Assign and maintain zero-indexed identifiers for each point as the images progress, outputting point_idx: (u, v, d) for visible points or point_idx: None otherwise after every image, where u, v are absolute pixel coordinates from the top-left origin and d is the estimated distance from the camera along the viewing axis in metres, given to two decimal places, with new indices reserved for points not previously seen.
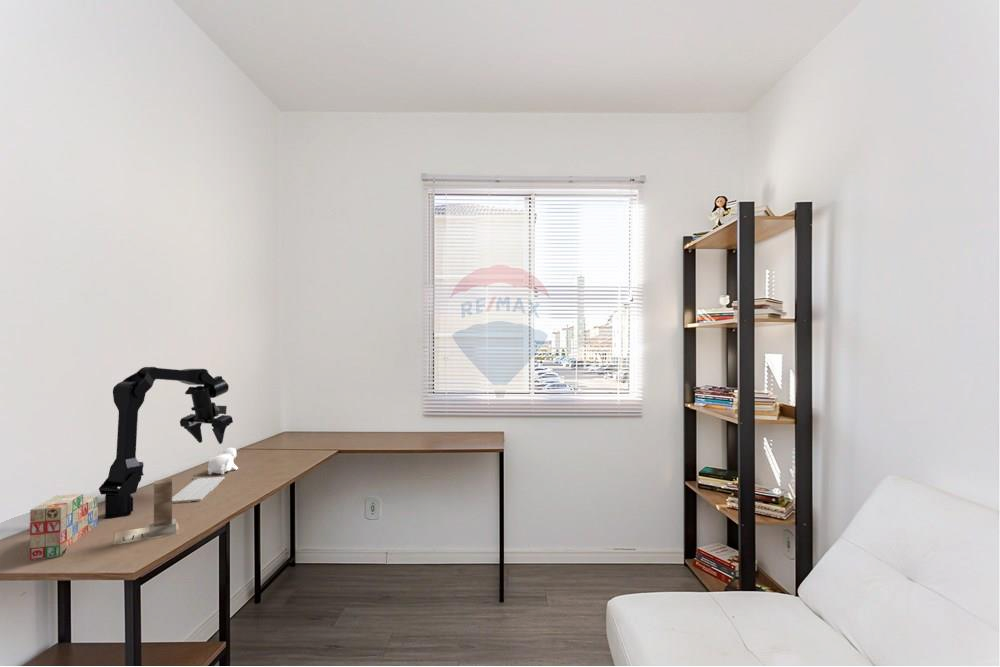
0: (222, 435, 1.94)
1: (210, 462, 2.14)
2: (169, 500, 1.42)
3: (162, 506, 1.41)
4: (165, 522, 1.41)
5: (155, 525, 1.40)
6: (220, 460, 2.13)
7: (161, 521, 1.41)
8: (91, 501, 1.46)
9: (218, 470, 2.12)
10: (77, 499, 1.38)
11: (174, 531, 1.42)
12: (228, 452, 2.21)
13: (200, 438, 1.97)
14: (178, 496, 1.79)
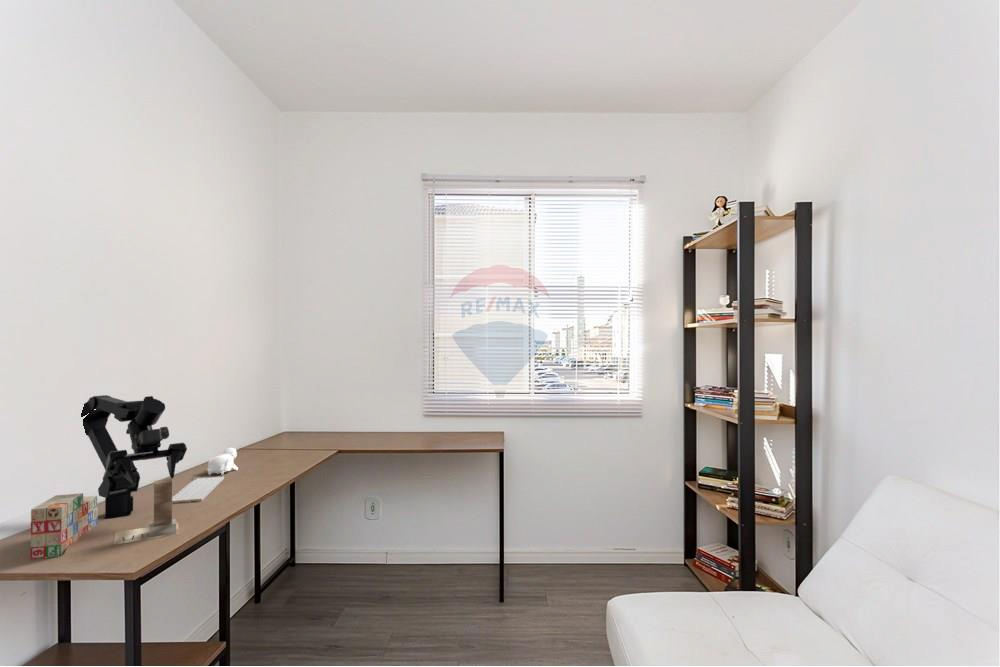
0: (127, 474, 1.46)
1: (210, 462, 2.13)
2: (169, 500, 1.42)
3: (162, 506, 1.41)
4: (165, 522, 1.41)
5: (155, 525, 1.40)
6: (220, 460, 2.13)
7: (161, 521, 1.41)
8: (91, 501, 1.47)
9: (218, 470, 2.12)
10: (77, 499, 1.39)
11: (174, 531, 1.42)
12: (228, 452, 2.21)
13: (170, 473, 1.53)
14: (178, 496, 1.79)
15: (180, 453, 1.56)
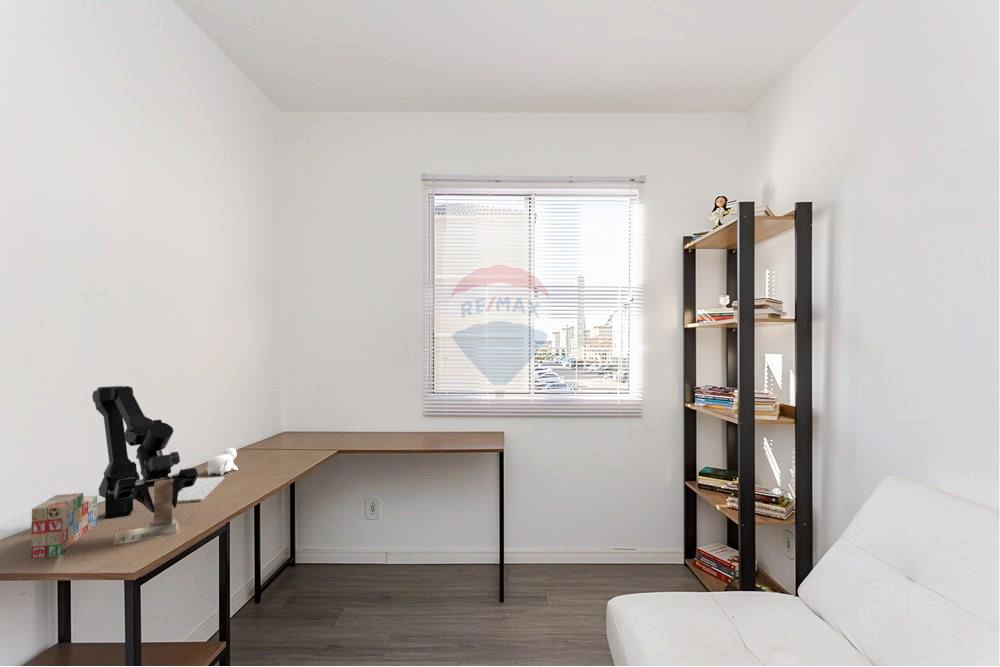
0: (146, 501, 1.41)
1: (210, 462, 2.13)
2: (170, 500, 1.42)
3: (162, 506, 1.41)
4: (165, 522, 1.42)
5: (155, 525, 1.40)
6: (219, 460, 2.13)
7: (161, 521, 1.41)
8: (91, 500, 1.47)
9: (217, 470, 2.12)
10: (78, 498, 1.39)
11: (174, 531, 1.42)
12: (228, 452, 2.20)
13: (173, 502, 1.44)
14: (178, 496, 1.79)
15: (183, 480, 1.48)
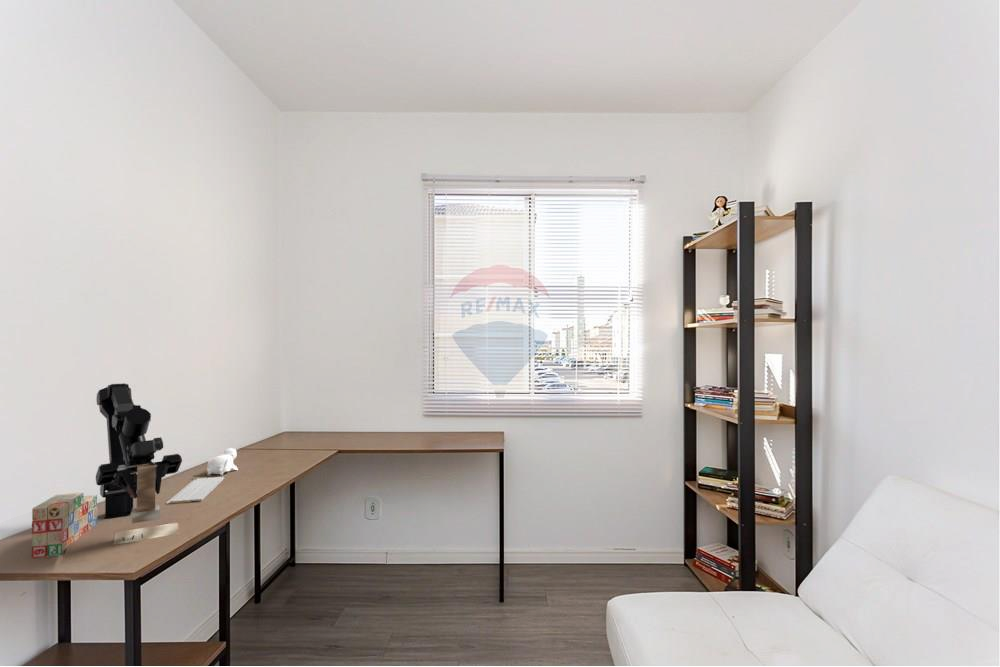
0: (128, 487, 1.39)
1: (209, 462, 2.13)
2: (153, 486, 1.40)
3: (145, 492, 1.39)
4: (148, 508, 1.40)
5: (138, 511, 1.38)
6: (219, 461, 2.12)
7: (144, 507, 1.39)
8: (91, 500, 1.47)
9: (217, 471, 2.11)
10: (78, 498, 1.39)
11: (157, 517, 1.40)
12: (228, 452, 2.20)
13: (156, 488, 1.43)
14: (179, 496, 1.79)
15: (166, 466, 1.46)
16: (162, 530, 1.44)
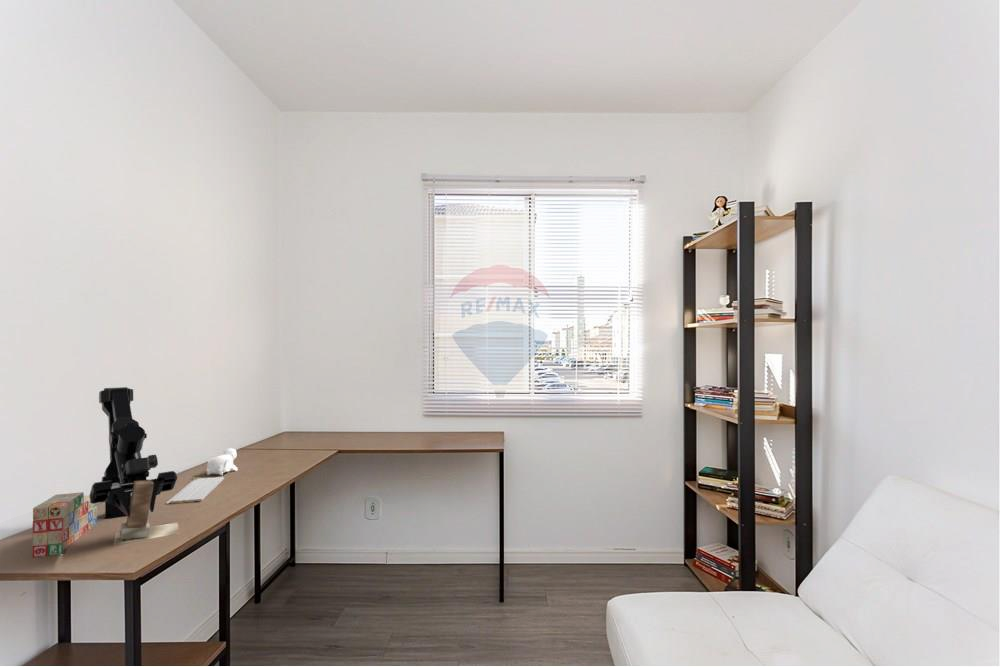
0: (122, 505, 1.38)
1: (209, 463, 2.12)
2: (148, 502, 1.40)
3: (139, 508, 1.39)
4: (139, 524, 1.39)
5: (129, 526, 1.37)
6: (219, 461, 2.12)
7: (135, 523, 1.38)
8: None
9: (217, 471, 2.11)
10: (78, 497, 1.40)
11: (147, 535, 1.39)
12: (228, 453, 2.20)
13: (150, 506, 1.42)
14: (179, 496, 1.79)
15: (161, 484, 1.45)
16: (162, 530, 1.44)
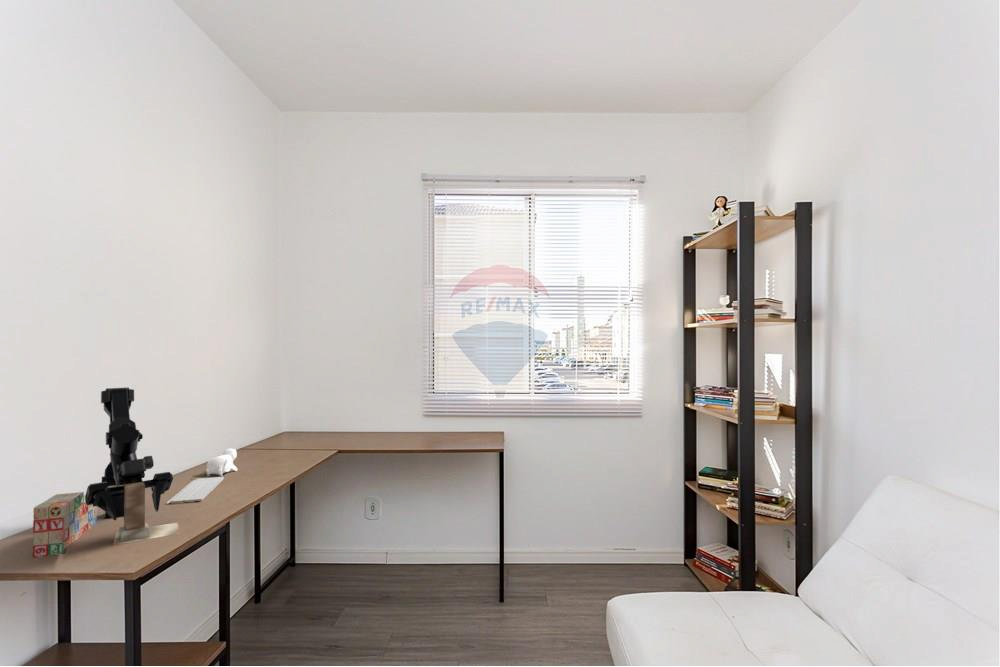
0: (108, 509, 1.36)
1: (209, 463, 2.12)
2: (142, 503, 1.39)
3: (135, 510, 1.38)
4: (138, 526, 1.38)
5: (127, 529, 1.37)
6: (219, 461, 2.12)
7: (133, 525, 1.38)
8: None
9: (216, 471, 2.11)
10: (78, 497, 1.40)
11: (147, 535, 1.39)
12: (228, 453, 2.20)
13: (155, 505, 1.43)
14: (179, 496, 1.79)
15: (166, 483, 1.47)
16: (162, 530, 1.44)
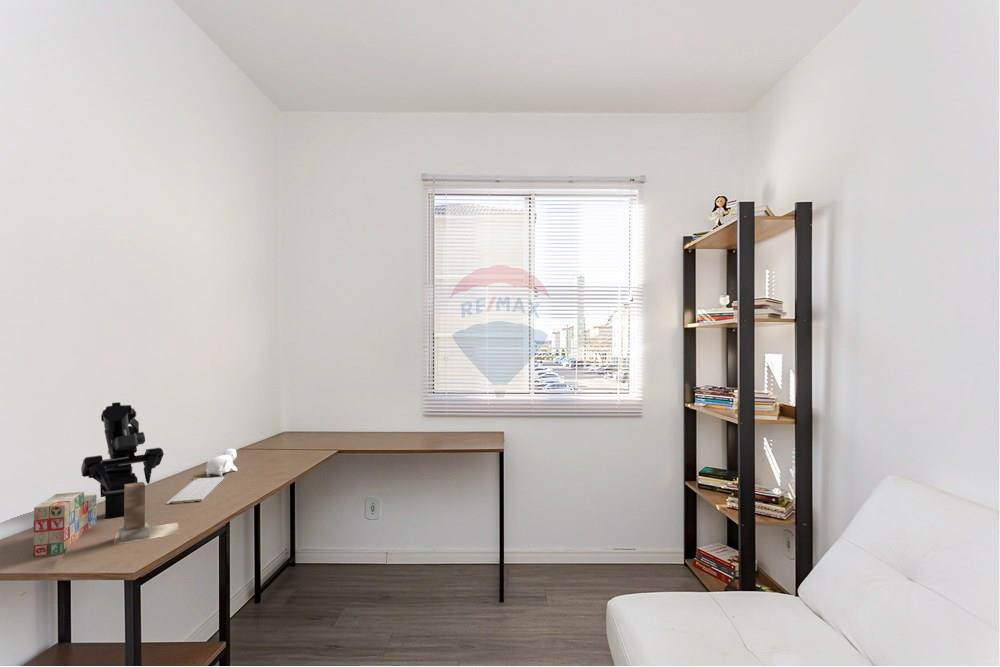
0: (102, 480, 1.47)
1: (209, 463, 2.12)
2: (142, 503, 1.39)
3: (135, 510, 1.38)
4: (138, 526, 1.38)
5: (127, 529, 1.37)
6: (218, 461, 2.11)
7: (133, 525, 1.38)
8: (91, 499, 1.48)
9: (216, 471, 2.11)
10: (79, 497, 1.40)
11: (147, 535, 1.39)
12: (228, 453, 2.19)
13: (146, 478, 1.54)
14: (179, 496, 1.79)
15: (156, 458, 1.57)
16: (162, 530, 1.44)
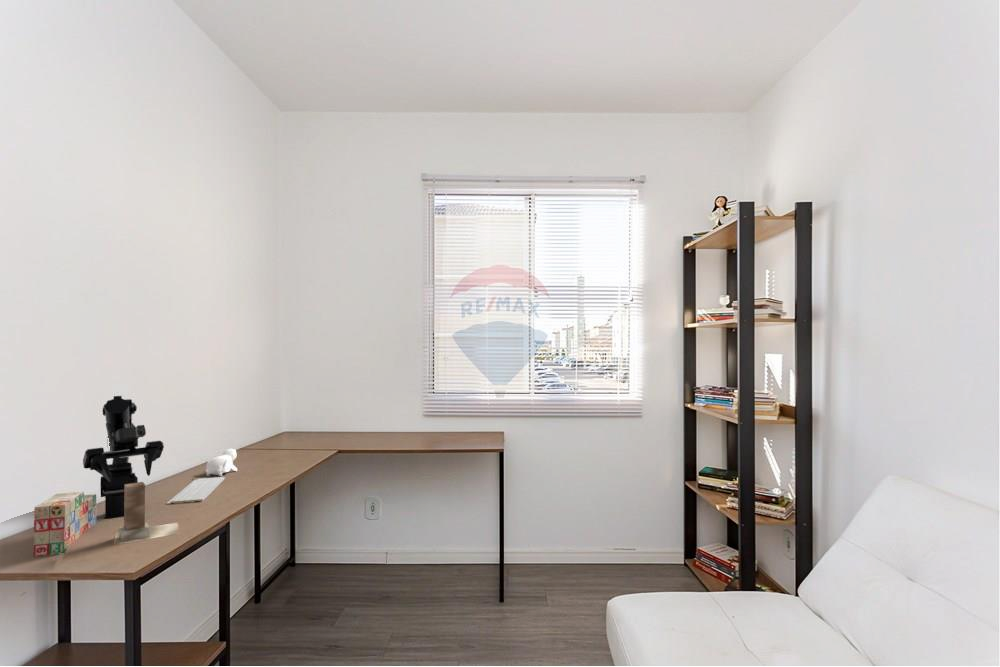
0: (104, 471, 1.49)
1: (208, 463, 2.12)
2: (142, 503, 1.39)
3: (135, 510, 1.38)
4: (138, 526, 1.38)
5: (127, 529, 1.37)
6: (218, 461, 2.11)
7: (133, 525, 1.38)
8: (91, 499, 1.48)
9: (216, 471, 2.10)
10: (79, 497, 1.41)
11: (147, 535, 1.39)
12: (228, 453, 2.19)
13: (147, 470, 1.56)
14: (179, 496, 1.79)
15: (157, 451, 1.60)
16: (162, 530, 1.44)
